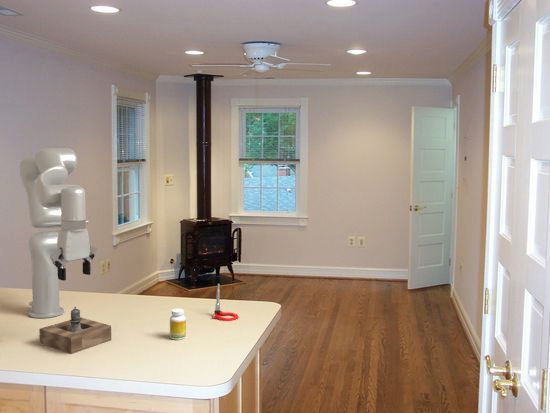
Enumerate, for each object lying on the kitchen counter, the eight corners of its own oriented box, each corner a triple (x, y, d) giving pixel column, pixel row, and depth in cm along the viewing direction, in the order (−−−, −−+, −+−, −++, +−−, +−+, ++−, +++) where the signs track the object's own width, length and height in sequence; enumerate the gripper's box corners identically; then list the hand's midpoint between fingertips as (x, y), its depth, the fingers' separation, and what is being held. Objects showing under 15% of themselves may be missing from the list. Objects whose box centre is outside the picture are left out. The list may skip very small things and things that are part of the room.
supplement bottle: (167, 336, 205) (167, 309, 204) (182, 334, 208) (183, 307, 207) (172, 341, 201) (172, 313, 200) (187, 339, 203) (187, 311, 202)
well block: (39, 343, 196) (39, 328, 195) (79, 331, 209) (79, 317, 209) (71, 353, 187) (71, 338, 187) (111, 340, 200) (111, 325, 200)
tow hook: (241, 317, 230) (219, 313, 233) (243, 284, 229) (221, 281, 232) (233, 323, 223) (210, 319, 226) (234, 289, 221) (212, 286, 224)
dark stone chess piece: (79, 345, 195) (78, 309, 194) (62, 343, 196) (62, 308, 195) (88, 339, 201) (88, 304, 199) (72, 338, 202) (71, 303, 200)
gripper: (87, 221, 203) (88, 270, 205) (43, 227, 189) (44, 280, 191) (102, 223, 199) (103, 273, 201) (58, 229, 185) (59, 283, 187)
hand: (74, 277), depth 196 cm, fingers open, 9 cm apart
